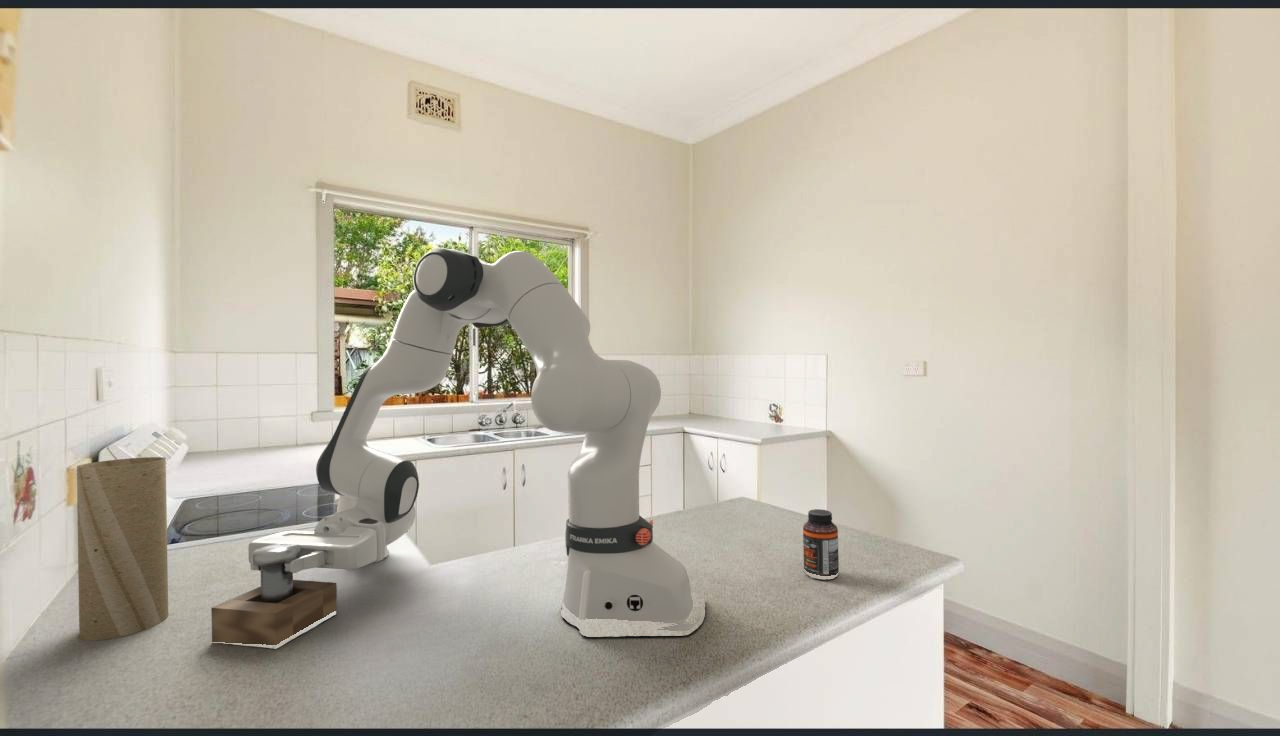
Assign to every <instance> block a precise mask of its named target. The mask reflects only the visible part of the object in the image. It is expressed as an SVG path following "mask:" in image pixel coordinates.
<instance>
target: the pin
mask: <svg viewBox="0 0 1280 736" xmlns="http://www.w3.org/2000/svg"><path fill="white" fill-rule="evenodd" d="M299 557H300V545H299V544H296V543H283V544H276V545H271V546H266V547H263V548H260V549H257V550H255V551H254V552H252V565H254V566H260V567H261V571H260V586H261V602H265V603H279V602H281V601H283V600H285V599H287V598H289V597H291V596H293V580H294V576H293V575H294V573H287V572H285V568H286V567H285V563H288V562H289V561H291V560H293V559H296V558H299Z"/></svg>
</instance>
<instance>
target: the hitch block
mask: <svg viewBox="0 0 1280 736" xmlns="http://www.w3.org/2000/svg"><path fill="white" fill-rule="evenodd" d="M337 587H338V586H337V582H333V581H332V582H330V581H317V580H315V581H314V580H301V579H293V596H291V597H289V598H287V599H285V600H283V601H281V602H279V603H265V602H261V585H260V586H258V587H256V588H253V589H252V590H249V591H247V592H245V593H242V594H239V595H238V596H235V597H233V598H230V599H227V600H226V601H224V602H222V603H219V604H216V605H215V606H212V607H210V608H211V611H210V612H211V643H212V642H225V643H242V644H262V645H263V644H266V645H277V644H279V643H280V642H281V641H283V640H285V639H287V638H289V637H290V636H292V635H294V634H296V633H297V632H299V631H300V630H303V629H304V628H306V627H308V626H309V625H311V624H313V623H314V622H316V621H318V620H320V619H322V618H324V617H326V616H327V615H329V614H330V613H332V612H334V611H336V610H337V611H338V589H337Z"/></svg>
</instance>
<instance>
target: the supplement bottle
mask: <svg viewBox="0 0 1280 736" xmlns="http://www.w3.org/2000/svg"><path fill="white" fill-rule="evenodd" d="M807 516H808V517H807V518H808V519H807V521H806V522H805V523H804V524H803V526H802V538H803V539H802V540H803V541H802V542H803V543H802V544H803V547H802V548H803V550H802V551H803V570H804V569H805V570H806V571H807V572H809V573H812V574H816V575H820V576H831V575H836V574H837V573H838V572H840V569H839V568H840V567H839V566H840V565H839V562H840V561H839V529H838V527H837V525H836V524H835V523H834V522H833V514H832V512H831V510H830V511H829V510H826V509H818V508H817V509H816V508H815V509H810V510H808V513H807Z"/></svg>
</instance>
